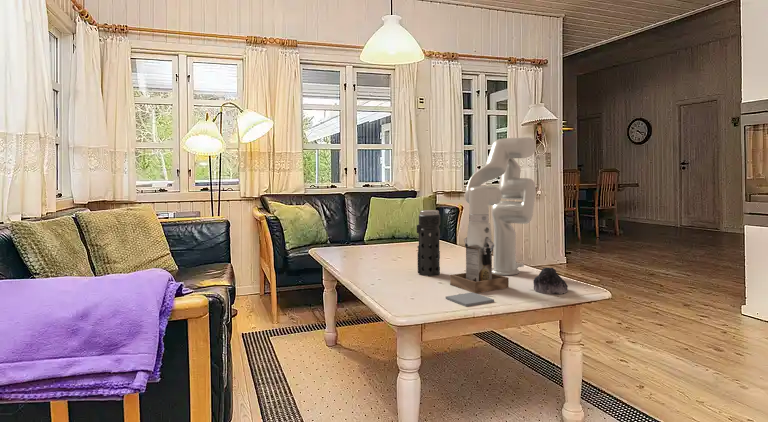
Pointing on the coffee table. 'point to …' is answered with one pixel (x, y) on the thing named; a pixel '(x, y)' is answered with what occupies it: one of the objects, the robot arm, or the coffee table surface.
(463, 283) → the corral
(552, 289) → the crystal cluster
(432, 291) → the coffee table surface
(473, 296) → the mat
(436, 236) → the muzzle brake
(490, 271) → the coffee box
